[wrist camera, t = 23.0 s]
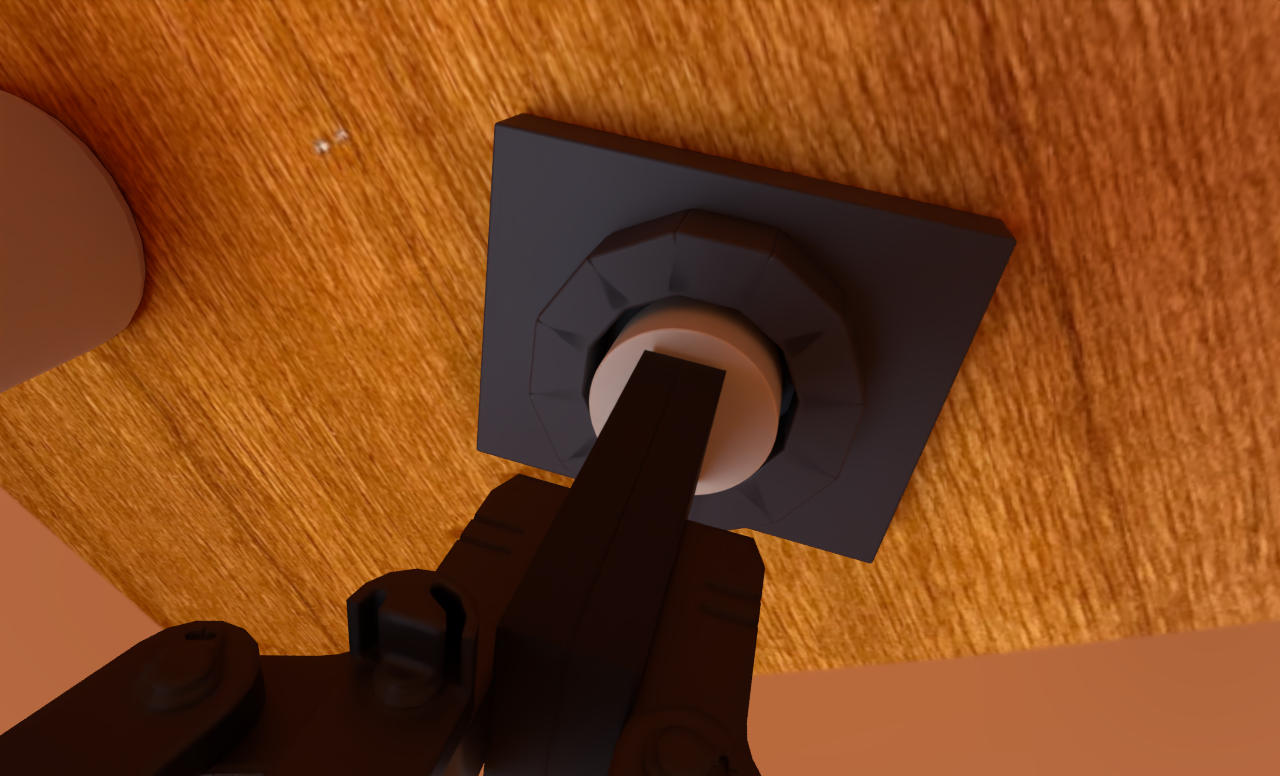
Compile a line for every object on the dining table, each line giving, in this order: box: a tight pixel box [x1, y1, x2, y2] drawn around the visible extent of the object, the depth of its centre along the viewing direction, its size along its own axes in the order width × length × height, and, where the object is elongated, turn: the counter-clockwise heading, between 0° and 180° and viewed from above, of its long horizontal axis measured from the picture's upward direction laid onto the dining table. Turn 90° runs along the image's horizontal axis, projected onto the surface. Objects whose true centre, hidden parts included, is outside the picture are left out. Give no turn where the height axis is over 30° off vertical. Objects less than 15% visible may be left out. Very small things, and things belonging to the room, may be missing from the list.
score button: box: [589, 296, 784, 495], centre depth 14 cm, size 4×4×2 cm
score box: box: [477, 113, 1017, 563], centre depth 15 cm, size 10×8×3 cm
